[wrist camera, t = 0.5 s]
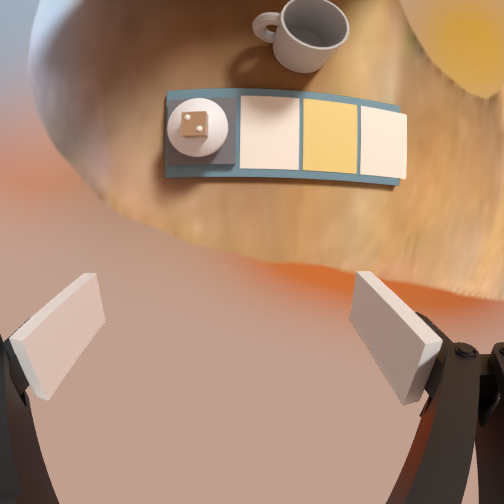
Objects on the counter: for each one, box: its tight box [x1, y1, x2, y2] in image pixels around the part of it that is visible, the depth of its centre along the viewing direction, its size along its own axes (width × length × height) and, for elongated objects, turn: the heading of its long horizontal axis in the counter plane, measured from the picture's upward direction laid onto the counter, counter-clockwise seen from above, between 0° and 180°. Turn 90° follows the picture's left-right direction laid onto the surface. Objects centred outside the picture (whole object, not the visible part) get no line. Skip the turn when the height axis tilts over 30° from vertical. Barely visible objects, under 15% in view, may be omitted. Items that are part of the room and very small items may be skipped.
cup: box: [252, 0, 349, 73], centre depth 27 cm, size 7×10×9 cm
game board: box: [165, 88, 407, 186], centre depth 33 cm, size 11×31×2 cm, turn 89°
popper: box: [167, 98, 228, 157], centre depth 28 cm, size 6×6×4 cm
